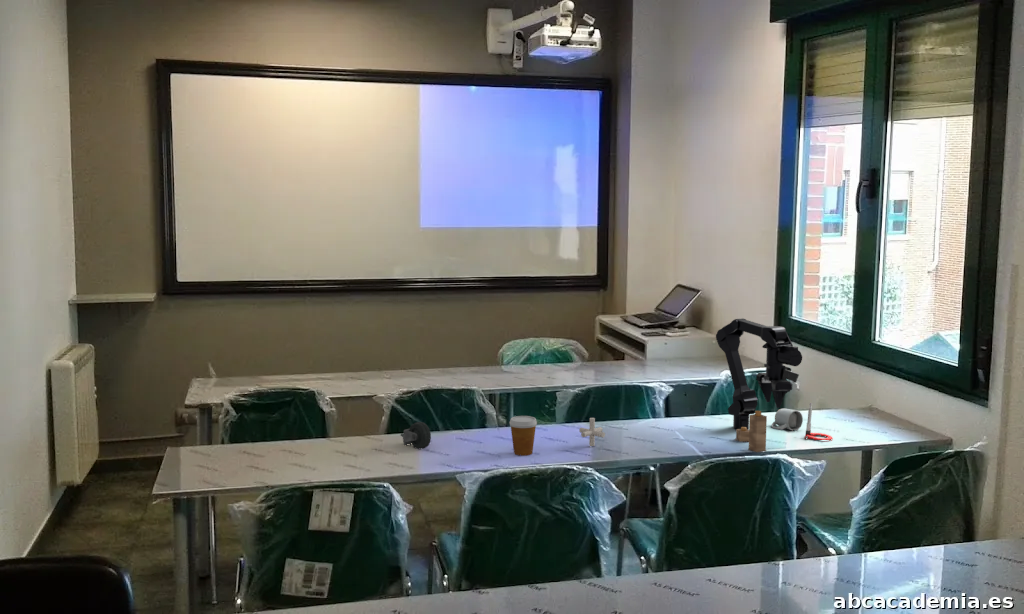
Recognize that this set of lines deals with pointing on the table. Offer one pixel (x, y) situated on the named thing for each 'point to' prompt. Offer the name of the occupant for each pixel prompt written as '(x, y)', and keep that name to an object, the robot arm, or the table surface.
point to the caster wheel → (417, 435)
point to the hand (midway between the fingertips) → (773, 404)
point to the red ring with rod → (808, 428)
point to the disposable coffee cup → (523, 434)
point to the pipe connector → (592, 432)
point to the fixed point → (742, 434)
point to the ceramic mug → (788, 419)
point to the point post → (757, 432)
